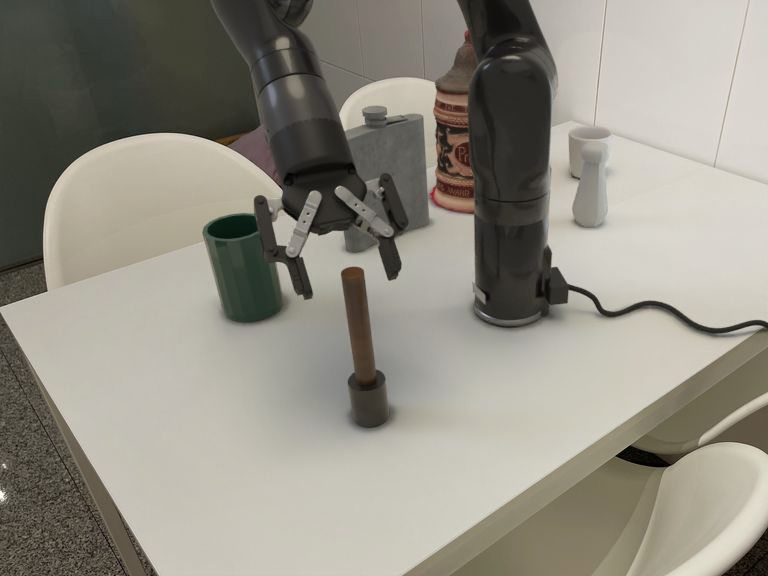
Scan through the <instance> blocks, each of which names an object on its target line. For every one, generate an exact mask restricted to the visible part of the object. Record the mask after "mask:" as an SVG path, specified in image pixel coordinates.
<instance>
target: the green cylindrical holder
mask: <svg viewBox="0 0 768 576" xmlns="http://www.w3.org/2000/svg"><path fill="white" fill-rule="evenodd" d="M201 234H202V237H203V241H204V245H205V249H206V252H207V256H208V260H209V263H210V267H211V271H212V275H213V278H214V283H215V286H216V291H217V293H218V298H219V300H220V301H219V302H220V304H221V308H222V310H223V314H224V316H225V317H226V318H227V319H228V320H231V321H233V322H237V323H255V322H260V321H264V320H267V319H270V318H272V317H273V316H275V315H276V314H278V313H279V312H280V311H281V310H282V309H283V307H284V305H285V301H284V296H283V289H282V284H281V280H280V275H279V270H278V264H277V262H273V263H268V262H267V261H266V260H265V258H264V254H263V250H262V245H261V241H260V236H259V232H258V227H257V223H256V218H255V214H254V213H250V212H238V213H231V214H227V215H223V216H219V217H217V218H214V219H212V220H211V221H209V222H208V223H206V224H205V225H204V226H203V228H202V233H201Z"/></svg>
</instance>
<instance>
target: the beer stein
mask: <svg viewBox="0 0 768 576" xmlns="http://www.w3.org/2000/svg"><path fill="white" fill-rule="evenodd" d="M477 67H478V66H477V61H476V57H475V53H474V49H473V45H472V42H471V38H470V35H469V32H468V29H467V30H466V29H465V31H464V42H463V44H462V45H461V46H460V47H459V48H458V49H457V51H456V54H455V58H454V60H453V65H452V66H451V68H450V69H449V70H448V71H447V72H446V74H444V75H443V76H441V77H439V78H437V79H436V80H435V82H434V86H435V90H436V94H435V99H434V106H433V109H432V113H433V116H434V120H435V123H436V128H435V132H434V137H435V150H436V156H437V157H436V162H437V166H436V167H435V170H434V175H435V177H436V179H435V180H436V183H435V186H434V187H433V188H432V190H431V192H429V196H430V197H429V196H428V199H430V200H432V202H433V203H434V204H435V205H436V206H438V207H441V208H443V209H446V210H448V211H452V212H458V213H468V214H474V178H473V173H472V170H471V167H470V159H469V136H468V90H469V84H470V81H471V78H472V75H473V73H474V72H475V70H476V68H477Z"/></svg>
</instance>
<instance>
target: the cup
mask: <svg viewBox="0 0 768 576" xmlns="http://www.w3.org/2000/svg"><path fill="white" fill-rule="evenodd" d="M567 134H568V135H567V136H568V160H569V161H568V162H569V163H568V165H569V172H570V173H571V174H572V175H573V176H574V177H575V178H578V179H580V177H581V173H582V169H583V166H584V162H585V161H584V160H583V159H582V157H581V152H582V147H583V146H584V145H585V144H586V143H589V142H602V143H605V144H606V145H607V146H608V147H609V153H610V151H611V147H612V142H613V137H614V134H613V132H612V131H611V130H610V129H609V128H606V127H604V126H603V127H602V126H598V125H581V126H576V127H574V128H571V129H570V130H569V131H568V133H567ZM608 162H609V159H608V160H607V161H605V171H606V170H607V166H608Z"/></svg>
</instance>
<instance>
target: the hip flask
mask: <svg viewBox="0 0 768 576" xmlns="http://www.w3.org/2000/svg"><path fill="white" fill-rule="evenodd" d="M361 112H362V113H361V114H362V117H363V118H364V124H362V125H358V126H356V127H355V126H354V127H352V128H349V129H346V130H344V132H345V135H346V138H347V141H348V145H349V148H350V151H351V154H352V157H353V161H354V164H355V167H356V171H357V173H358V175H359V177H360V178H361V179H362V180H363V181H364V182H366V181H370V180H374V179H378V178H380V176H381V175H382V174H383V173H388V174H390V175H391V177H392V179H393V182H394V184H395V187H396V189H397V192H398V195H399V197H400V200H401V202H402V205H403V208H404V210H405V213H406V215H407V218H408V221H409V224H408V226H407V228H406V229H405V231H404V233H406V232H410V231H412V230H415V229H420V228H424V227H426V226H428V225H429V224H430V212H429V211H430V210H429V193H428V176H427V174H428V173H427V159H426V158H427V157H426V139H425V121H424V120H425V119H424V115H423V114H421V113H406V114H397V115H391V116H388V109H387V107H386V106H383V105H369V106H365V107H363V108H362V109H361ZM363 203H364V204H365V205H367V206H368V207H369V208H371V209H372V210H373V211H374V212H375V213H376V214H377V216H378V217H379V218H380V219H382V220H383V221H384V222H385V223H387V224H388V225H389V224H390V223H389V221H388V218H387V216H386V213H385V210H384V208H383V205H382V202H381V201H377V200H375V199H374V197H373V196H372V195H371V194H366V196H365V199H364V201H363ZM359 223H360V222H359ZM343 237H344V245H345V250H346V251H347V252H348V253H349V252H350V253H360V252H363V251H365V250H367V249H368V248H369V247H372V246H374V245H376V244H379V243H378V242H377V241H375V240H374V239H373V238H371V237H370V236H369V235H367V234H364V233H362V232H361V231H359V230H358V229H357V228H355V227H354V226H351V227H350V228H349V230H345V231H343Z"/></svg>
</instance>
